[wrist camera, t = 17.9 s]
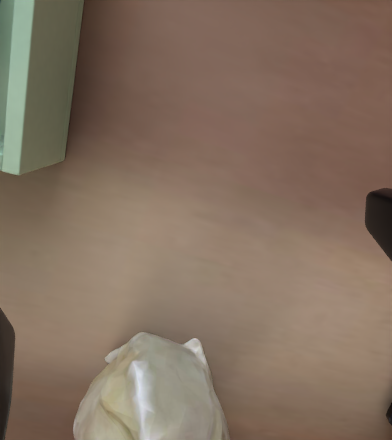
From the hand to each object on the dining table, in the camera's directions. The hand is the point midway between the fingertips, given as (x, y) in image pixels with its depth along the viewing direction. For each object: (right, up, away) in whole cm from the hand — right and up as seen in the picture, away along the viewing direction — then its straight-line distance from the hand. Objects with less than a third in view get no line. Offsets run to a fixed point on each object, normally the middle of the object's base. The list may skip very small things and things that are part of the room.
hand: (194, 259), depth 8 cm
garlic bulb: (-2, -9, +14) cm, 16 cm away
